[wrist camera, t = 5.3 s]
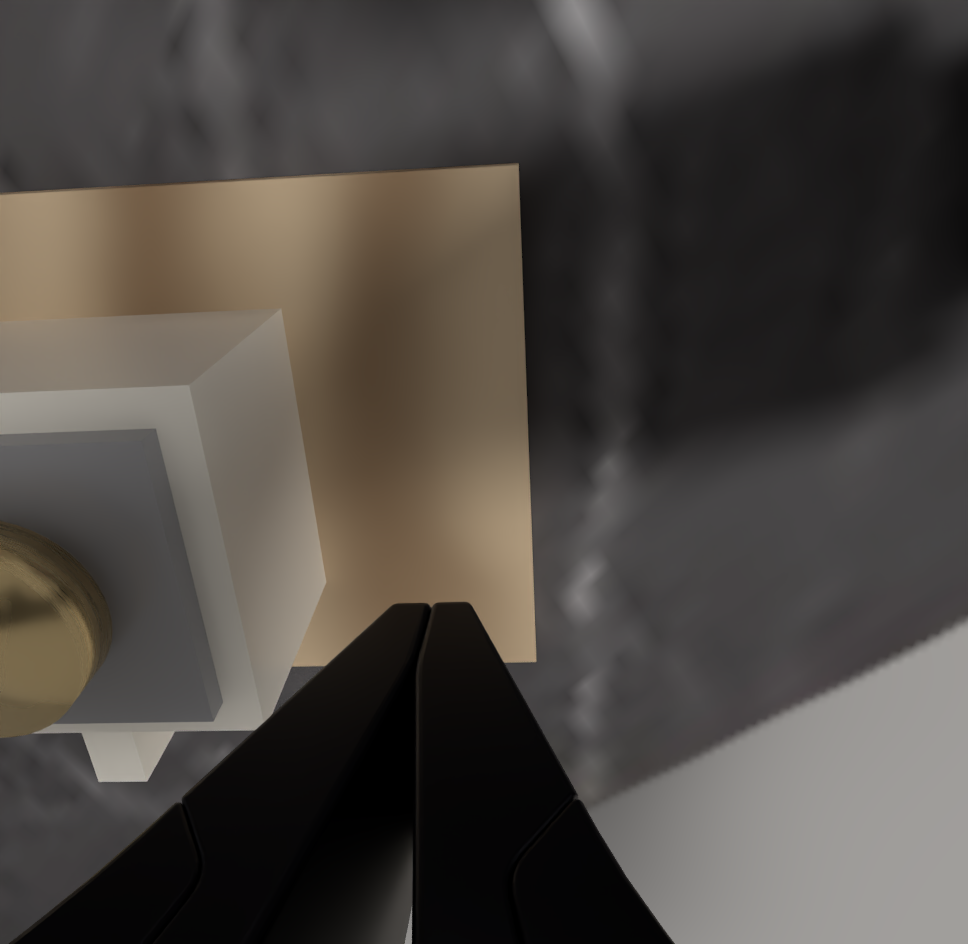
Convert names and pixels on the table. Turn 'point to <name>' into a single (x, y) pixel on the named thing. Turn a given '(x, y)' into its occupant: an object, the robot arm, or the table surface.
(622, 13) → the table surface
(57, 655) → the gold push button
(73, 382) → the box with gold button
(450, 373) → the serving board
